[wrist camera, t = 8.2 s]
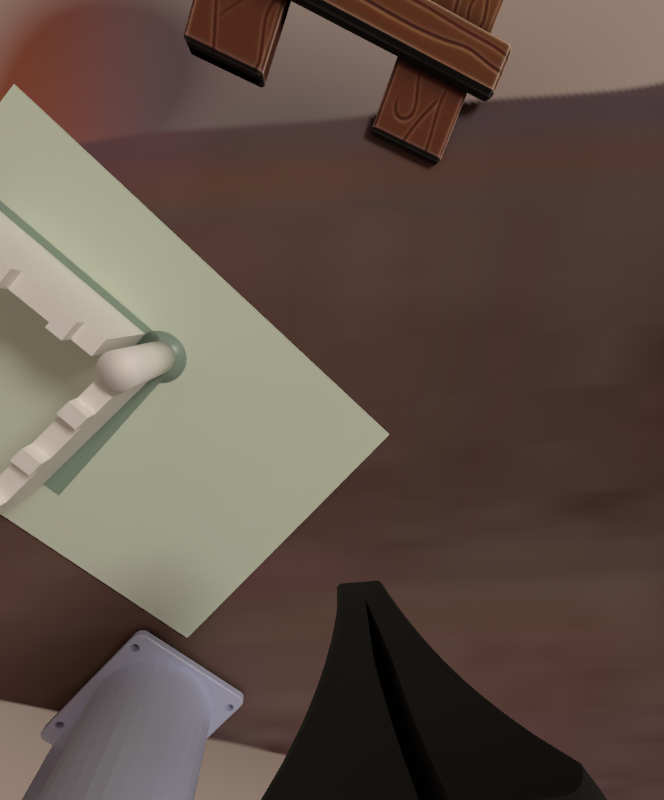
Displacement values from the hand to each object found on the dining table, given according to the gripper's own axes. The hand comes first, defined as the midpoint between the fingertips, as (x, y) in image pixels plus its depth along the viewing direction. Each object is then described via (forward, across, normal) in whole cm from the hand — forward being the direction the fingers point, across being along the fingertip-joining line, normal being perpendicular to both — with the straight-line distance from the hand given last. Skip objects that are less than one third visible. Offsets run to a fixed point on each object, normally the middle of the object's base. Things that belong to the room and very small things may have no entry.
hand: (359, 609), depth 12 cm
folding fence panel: (+10, +12, -4) cm, 16 cm away
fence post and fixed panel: (+10, +11, -10) cm, 18 cm away
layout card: (+10, +11, -5) cm, 15 cm away
